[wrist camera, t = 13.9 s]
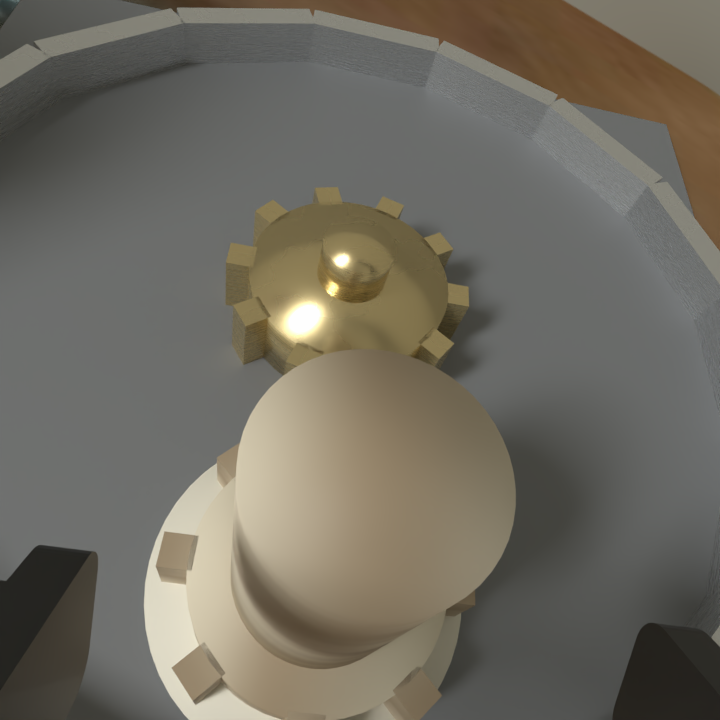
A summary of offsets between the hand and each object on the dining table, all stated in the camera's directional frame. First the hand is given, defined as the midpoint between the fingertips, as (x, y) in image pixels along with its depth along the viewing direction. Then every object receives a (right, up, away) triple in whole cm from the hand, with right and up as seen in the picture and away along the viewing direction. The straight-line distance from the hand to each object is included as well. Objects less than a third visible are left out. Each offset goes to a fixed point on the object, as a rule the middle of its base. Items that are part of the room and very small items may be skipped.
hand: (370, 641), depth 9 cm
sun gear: (-1, +5, +15) cm, 16 cm away
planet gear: (-1, -2, +9) cm, 9 cm away
